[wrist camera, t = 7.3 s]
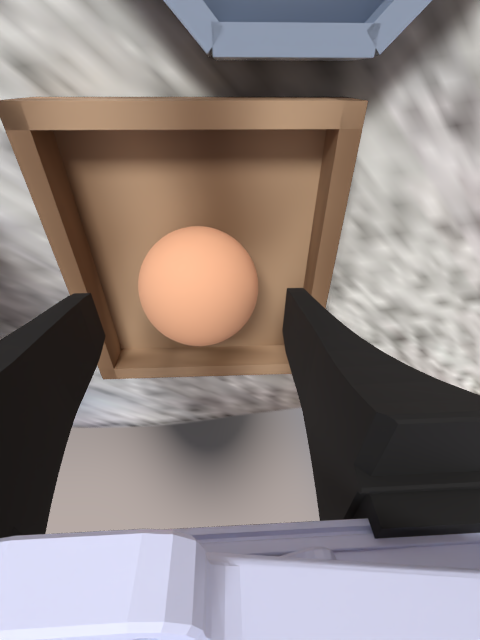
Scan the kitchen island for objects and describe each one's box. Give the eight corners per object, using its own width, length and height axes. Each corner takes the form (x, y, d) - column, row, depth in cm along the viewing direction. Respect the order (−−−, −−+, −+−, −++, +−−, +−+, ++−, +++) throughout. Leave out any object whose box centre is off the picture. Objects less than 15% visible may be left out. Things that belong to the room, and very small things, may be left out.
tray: (115, 348, 20) (102, 379, 18) (33, 97, 12) (-7, 100, 10) (303, 343, 20) (312, 373, 18) (344, 96, 12) (368, 100, 10)
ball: (157, 302, 17) (137, 372, 13) (142, 208, 14) (109, 260, 10) (251, 302, 17) (259, 370, 13) (256, 209, 14) (270, 261, 10)
